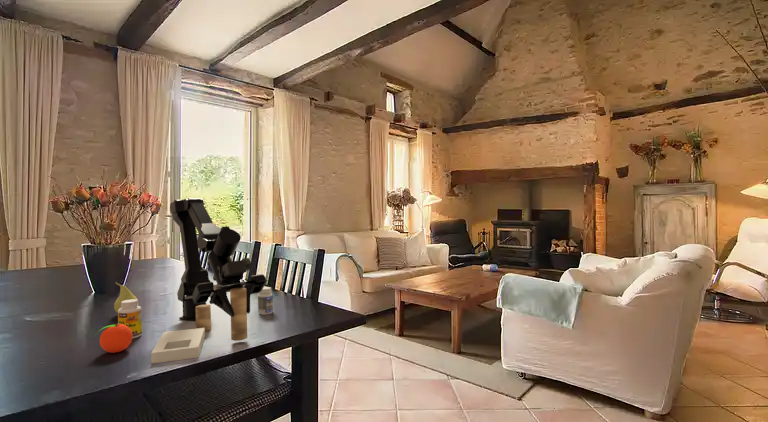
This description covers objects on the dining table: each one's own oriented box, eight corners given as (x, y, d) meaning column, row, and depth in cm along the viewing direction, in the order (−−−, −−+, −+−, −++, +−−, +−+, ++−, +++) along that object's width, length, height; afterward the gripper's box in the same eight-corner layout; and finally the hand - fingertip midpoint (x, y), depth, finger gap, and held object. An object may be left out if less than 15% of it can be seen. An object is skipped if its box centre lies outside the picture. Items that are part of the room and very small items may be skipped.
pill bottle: (268, 315, 131) (268, 289, 131) (255, 314, 132) (255, 289, 132) (275, 311, 136) (274, 286, 136) (262, 310, 137) (262, 286, 137)
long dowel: (228, 339, 105) (226, 290, 104) (237, 334, 108) (236, 287, 108) (241, 341, 104) (240, 291, 103) (250, 336, 107) (249, 288, 107)
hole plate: (164, 341, 108) (164, 331, 108) (204, 336, 111) (204, 327, 111) (151, 363, 93) (151, 352, 93) (198, 357, 96) (198, 347, 96)
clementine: (91, 359, 96) (90, 330, 96) (98, 350, 102) (97, 322, 102) (130, 354, 99) (129, 325, 99) (135, 345, 105) (134, 318, 105)
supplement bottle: (115, 341, 108) (113, 303, 108) (123, 334, 114) (122, 299, 114) (137, 339, 110) (136, 302, 109) (145, 333, 115) (144, 297, 115)
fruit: (143, 312, 137) (141, 277, 137) (126, 318, 130) (125, 282, 129) (124, 312, 138) (123, 277, 138) (107, 318, 130) (106, 282, 130)
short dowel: (193, 331, 116) (192, 307, 116) (202, 327, 120) (202, 304, 119) (204, 332, 115) (204, 308, 114) (214, 328, 118) (213, 304, 118)
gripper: (195, 252, 102) (212, 303, 94) (263, 246, 115) (283, 290, 107) (185, 279, 107) (201, 329, 100) (251, 270, 120) (269, 313, 113)
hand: (241, 314), depth 105 cm, fingers closed on long dowel, 4 cm apart
